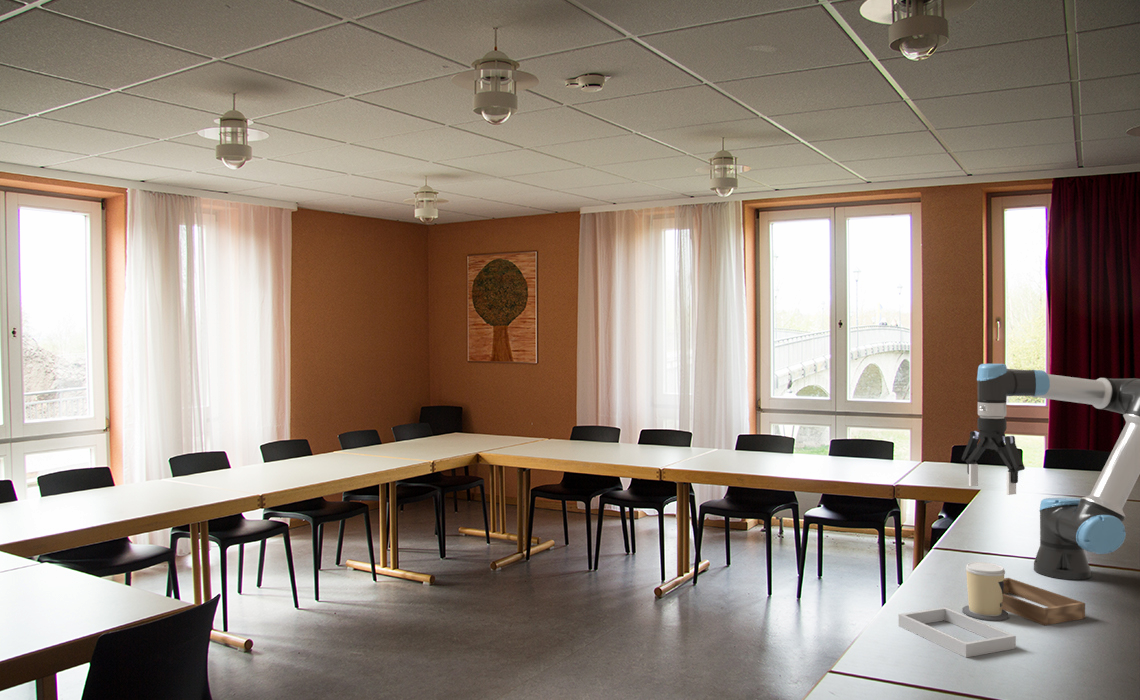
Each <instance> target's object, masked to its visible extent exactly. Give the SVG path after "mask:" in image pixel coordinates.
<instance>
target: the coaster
mask: <svg viewBox="0 0 1140 700" xmlns="http://www.w3.org/2000/svg"><path fill="white" fill-rule="evenodd" d="M962 614H963V615H965V614H966V616H968V617H970V618H973V619H975V620H979V621H980V620H981V621H989V622H1000V621H1001V622H1002V621H1006V620H1008V619H1009V617H1010V615H1009V612H1008V611H1005V610H1003V609H1002V613H1001V615H999V616H983V615H978V614H975V613H973V612H971V611H970V610H969V604H968V605H965V606H963V607H962Z"/></svg>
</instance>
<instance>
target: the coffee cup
mask: <svg viewBox="0 0 1140 700" xmlns="http://www.w3.org/2000/svg"><path fill="white" fill-rule="evenodd" d="M965 571H966V586H967V597H968V598H967V600H968V601H967V602H968V605H969V610H970V611H971V612H973V613H975V614H978V615H983V616H999V615H1001V613H1002V610H1003V609H1002V602H1003V589H1004V578H1005V574H1006V571H1005V569H1004V567H1003V566H1002V565H999V564H996V563H991V562H984V561H983V562H982V561H973V562H972V561H971V562H968V563H967V564H966V566H965Z"/></svg>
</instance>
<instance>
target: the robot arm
mask: <svg viewBox="0 0 1140 700" xmlns="http://www.w3.org/2000/svg"><path fill="white" fill-rule="evenodd" d="M976 381H977V415H978V417H977V430H974V431H973V430H972V431H970V433H969V439H968V441H967V444H966V447H965V448H964V451H963V453H962V456H961V461H964V462H965V463H966V465H967V475H968V486H969V487H978V486H979V464H978V462H977V461H978V460H979V459H980V458H981V456H982V455H983V454H984V452H985V451H986V450H988V449H989V450H992V451H993V450H994V451H995V452H996V453H998V455H999V457H1000V458H1001V459H1002V461H1003V463H1004V465H1006V467H1007V469H1008V470H1007V471H1006V495H1009V496H1010V495H1017V484H1018V482H1019V472H1020V471H1023V470H1025V469H1026V468H1025V467H1026V466H1025V465H1024V462H1023V459H1022V457H1021V454H1020V452H1019V450H1018V446H1017V445H1016V438H1015V436H1014V435H1005V432H1006V431H1007V419H1006V417H1007V414H1008V413H1007V397H1032V398H1038V399H1047V400H1055V401H1062V402H1071V403H1077V404H1086V405H1092V407H1094V408H1095V409H1098V410H1105V411H1109V412H1114V413H1118V414H1122V417H1123V418H1124V421H1125V425H1124V426H1123V429H1122V430H1121V432H1120V434H1119V437H1118V439H1117V440H1116V442H1115V444H1114V446H1113V449H1112V450H1111V452H1110V454H1109V456H1108V459H1107V460H1106V462H1105V463H1104V464H1105V465H1104V466H1103V468H1102V469H1101V472H1100V474H1099V476H1098V478H1097V480H1096V482H1095V484H1094V486H1093V488H1092V490H1091V492H1090V494H1089V495H1086V496H1082V497H1081V498H1073V497H1072V498H1071V497H1049V498H1048V497H1046V498H1043V499H1041V500H1040V506H1039V538H1040V539H1039V541H1040V542H1039V548H1038V551H1037V553H1036V556H1035V559H1034V561H1033V571H1034V572H1036V573H1037V574H1039V575H1043V576H1046V577H1048V578H1049V577H1051V578H1056V579H1063V580H1077V581H1078V580H1086V579H1089V578H1090V577H1091V567H1090V564H1089V561H1088V558H1087V555H1086V552H1088V553H1094V554H1097V555H1106V554H1110V553H1113V552H1115V551H1117V550H1118V549H1119V548H1120V547H1121V546H1122V545H1123V543H1124V542H1125V539H1126V534H1127V533H1126V532H1127V531H1126V530H1125V529H1126V527H1125V525H1124V523H1123V522H1124V521H1125V519H1126V515H1125V513H1124V510H1123V508H1124V506H1125V504H1126V502H1127V501H1128V499H1129V496H1130V494H1131V493H1132V490H1133V488H1134V487H1135V484H1136V482H1137V480H1138V478H1139V476H1140V378H1138V377H1137V378H1135V377H1133V378H1107V377H1099V378H1097V379H1089V378H1081V377H1074V376H1072V377H1071V376H1065V375H1056V374H1050V373H1047V372H1046V371H1045V370H1041V369H1017V368H1016V369H1015V368H1007V365H1006V364H1005V363H980V364H979V365H978V368H977V376H976ZM1085 551H1086V552H1085Z"/></svg>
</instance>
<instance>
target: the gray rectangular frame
mask: <svg viewBox="0 0 1140 700" xmlns="http://www.w3.org/2000/svg"><path fill="white" fill-rule="evenodd" d="M943 620H944V621H946V622H948V623H949V624H952V625H955V626H957V627H959V628H962V629H965V630H967V631H970V632H972V633H974V634H975V635H976V634H977V635H979V636H981V637H983V638H984V639H979V640H977V639H976V640H971V641H964V640H961V639H960V638H958V637H957V638H956V637H955V636H952V635H950V634H948V633H945V632H943V631H941V630H938V629H937V628H934V627H932V626H930V625H928V624H930V623H936V622H942V621H943ZM898 627H900V628H902V629H904V630H906V631H908V630H909V631H908V632H910V633H912V634H915V635H917V634H918V635H917V636H919V637H921V638H923V637H924V638H923V639H925V638H926V639H925V640H928V641H930V642H932V643H934V644H936V645H938V646H940V647H942V648H945V649H947V650H949V651H951V652H954V653H956V654H958V655H959V656H962V657H964V658H970V657H971V658H972V657H976V656H981V655H986V654H993V653H998V652H1003V651H1004V652H1005V651H1009V650H1016V644H1017V643H1016V641H1017V640H1016V637H1017V636H1016V635H1015V634H1012V633H1010V632H1007V631H1004V630H1002V629H1000V628H997V627H995V626H992V625H989V624H987V623H985V622H983V621H980V620H979V619H976V618H972V617H969V616H967V615H965V614H964V613H961V612H958V611H956V610H953V609H950V608H948V607H945V606H944V607H936V608H932V609H926V610H925V609H923V610H919V611H911V612H904V613H899V614H898Z"/></svg>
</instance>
